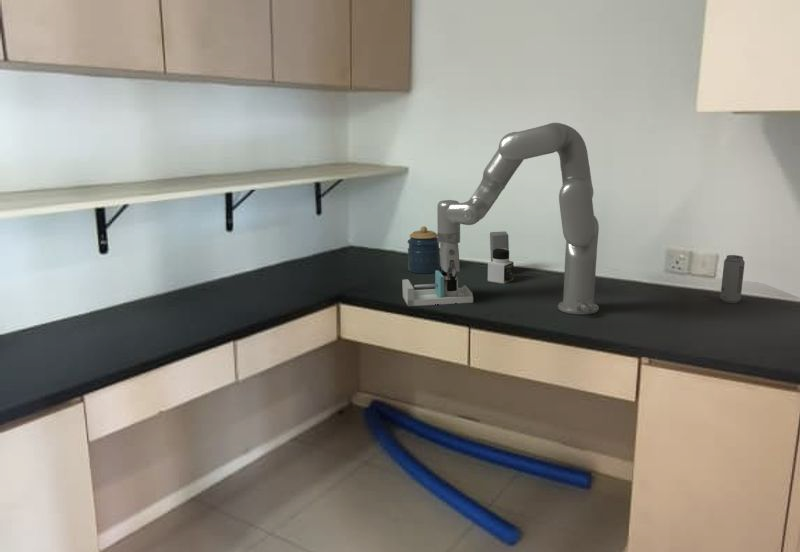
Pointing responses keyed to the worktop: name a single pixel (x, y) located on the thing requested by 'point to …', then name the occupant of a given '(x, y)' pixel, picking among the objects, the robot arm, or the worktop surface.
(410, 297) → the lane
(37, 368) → the worktop surface
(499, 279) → the medicine bottle
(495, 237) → the skincare box
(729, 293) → the energy drink can
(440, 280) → the pusher
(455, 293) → the jar
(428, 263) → the canister
